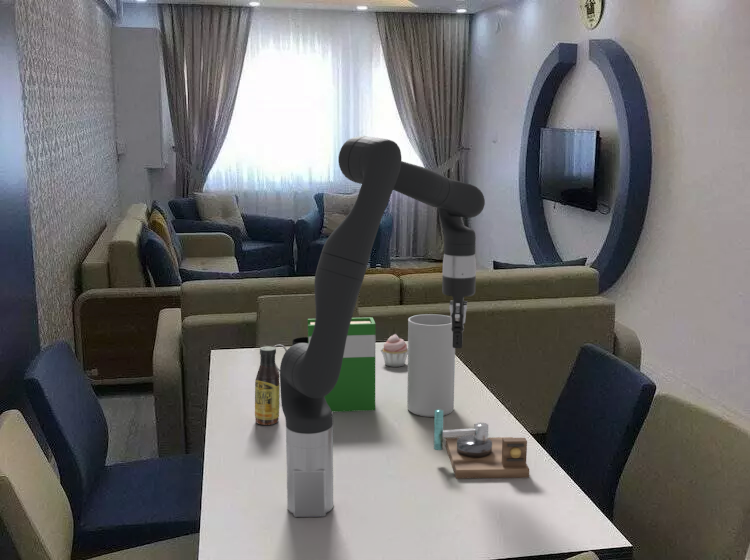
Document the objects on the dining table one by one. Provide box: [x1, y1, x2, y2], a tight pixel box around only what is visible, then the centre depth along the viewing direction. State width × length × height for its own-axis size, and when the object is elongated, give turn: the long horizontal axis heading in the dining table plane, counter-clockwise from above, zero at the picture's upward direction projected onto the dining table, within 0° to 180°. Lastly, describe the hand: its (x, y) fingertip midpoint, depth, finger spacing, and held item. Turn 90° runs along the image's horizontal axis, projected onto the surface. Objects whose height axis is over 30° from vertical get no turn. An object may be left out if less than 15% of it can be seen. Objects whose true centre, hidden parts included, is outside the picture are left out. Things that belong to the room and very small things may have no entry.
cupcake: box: [380, 333, 408, 368], centre depth 255 cm, size 9×9×10 cm
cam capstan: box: [433, 409, 492, 457], centre depth 181 cm, size 14×8×10 cm, turn 100°
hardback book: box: [307, 316, 377, 413], centre depth 215 cm, size 18×7×24 cm, turn 96°
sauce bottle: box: [254, 345, 281, 426], centre depth 204 cm, size 7×6×20 cm
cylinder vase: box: [406, 313, 456, 418], centre depth 213 cm, size 12×12×25 cm
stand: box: [445, 436, 530, 480], centre depth 181 cm, size 18×16×8 cm
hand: (457, 347), depth 184 cm, fingers closed
